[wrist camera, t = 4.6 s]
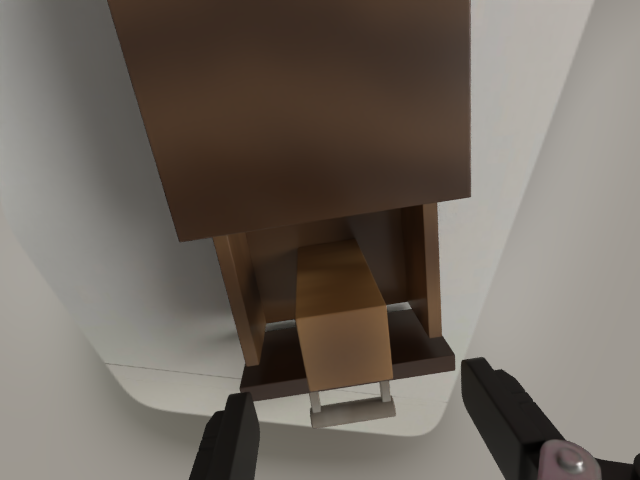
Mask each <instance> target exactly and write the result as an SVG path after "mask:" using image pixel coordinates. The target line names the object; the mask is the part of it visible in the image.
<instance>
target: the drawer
mask: <svg viewBox="0 0 640 480" xmlns="http://www.w3.org/2000/svg"><path fill="white" fill-rule="evenodd" d="M212 238H213V242H214V246H215V249H216V253H217V257H218V261H219V265H220V268H221V272H222V276H223V280H224V283H225V287H226V291H227V295H228V299H229V302H230V306H231V310H232V314H233V317H234V321H235V325H236V329H237V333H238V336H239V340H240V344H241V348H242V351H243V355H244V359H245V367H244V371H243V376H242V380H241V384H240V392H241V393H243V392H250V393H251V396H252V399H253V402H254V401H261V400H267V399H274V398H280V397H287V396H293V395H299V394H306V393H309V396H310V401H311V406H312V407H311V408H310V417H311V424H312V428H313V429H316V428H323V427H329V426H336V425H342V424H348V423H355V422H361V421H368V420H374V419H381V418H387V417H394V416H396V411H395V405H394V401H393V398H392V396H391V395H390V387H389V381H390V380H396V379H402V378H409V377H415V376H422V375H428V374H435V373H441V372H448V371H454V370H455V354H454V353H453V351H452V350H451V348H450V347H449V345H448V343H447V342H446V340H445V339H444V337H443V336H442V327H441V298H440V270H439V241H438V213H437V202H436V203H430V204H424V205H417V206H411V207H404V208H398V209H391V210H385V211H378V212H372V213H366V214H359V215H353V216H346V217H340V218H333V219H327V220H321V221H314V222H308V223H301V224H295V225H288V226H282V227H276V228H269V229H263V230H256V231H250V232H243V233H237V234H231V235H224V236H218V237H212ZM350 239H356V240H357V243H358V245H359V247H360V249H361V251H362V254H363V256H364V258H365V260H366V262H367V265H368V267H369V269H370V271H371V273H372V275H373V278H374V280H375V282H376V284H377V286H378V289H379V291H380V293H381V295H382V297H383V300H384V302H385V304H386V305H389V304H395V303H402V302H408V303H409V305H410V306H411V308H412V309H408V310H402V311H395V312H389V313H387V318H388V328H389V339H390V349H391V360H392V371H393V379H389V380H383V381H376V382H370V383H377V382H379V383H380V392H381V397H374V398H368V399H362V400H355V401H349V402H342V403H336V404H329V405H323V406H321V405H320V399H319V394H318V392H319V391H325V390H332V389H338V388H344V387H351V386H357V385H364V384H370V383H363V384H357V385H351V386H344V387H338V388H331V389H325V390H318V391H312V392H310V391H309V387H308V382H307V377H306V372H305V367H304V362H303V357H302V352H301V347H300V342H299V337H298V332H297V327H292V328H286V329H279V330H273V331H267V332H265V328H266V324H267V323H273V322H279V321H286V320H292V319H295V312H296V280H297V249H298V247H305V246H311V245H318V244H324V243H331V242H337V241H343V240H350Z"/></svg>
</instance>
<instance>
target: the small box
mask: <svg viewBox="0 0 640 480" xmlns="http://www.w3.org/2000/svg"><path fill="white" fill-rule="evenodd" d="M295 321H296V326H297V332H298V337H299V342H300V347H301V352H302V357H303V362H304V367H305V372H306V377H307V382H308V387H309V391H310V392H312V391H318V390H325V389H331V388H338V387H344V386H351V385H357V384H363V383H370V382H376V381H383V380H389V379H393V371H392V360H391V349H390V339H389V328H388V318H387V307H386V304H385V302H384V300H383V297H382V295H381V293H380V291H379V289H378V286H377V284H376V282H375V280H374V278H373V275H372V273H371V271H370V269H369V267H368V265H367V262H366V260H365V258H364V256H363V254H362V251H361V249H360V247H359V245H358V243H357V240H356V239H350V240H343V241H337V242H331V243H324V244H318V245H311V246H305V247H298V249H297V280H296V312H295Z"/></svg>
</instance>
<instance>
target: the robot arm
mask: <svg viewBox="0 0 640 480" xmlns="http://www.w3.org/2000/svg"><path fill="white" fill-rule="evenodd" d="M461 384H462V385H461V386H462V387H461V388H462V397H463V402H464V405H465V407H466V409H467V411H468V413H469V415H470V417H471V418H472V420H473V422H474V424H475V426H476V427H477V429H478V431H479V433H480V435H481V436H482V438H483V440H484V442H485V443H486V445H487V447H488V449H489V451H490V453H491V454H492V456H493V458H494V460H495V461H496V463H497V465H498V467H499V468H500V470H501V472H502V474H503V476H504V478H505V479H506V480H640V454H638V455H637V456H636V457H635V458H634V463H633V464H627V463H620V462H613V461H607V460H601V459H597V458H594V457H593V456H592V455H591V454H590V453H589V452H588V451H587V450H585V449H584V448H582V447H581V446H579V445H577V444H575V443H572V442H570V441H566V440H565V439H564V437H563V436H562V435H561V434H560V432H559V431H558V430H557V429H556V428H555V426H554V425H553V424H552V423H551V421H550V420H549V419H548V418H547V417H546V415H545V414H544V413H543V412H542V411H541V409H540V408H539V407H538V405H537V404H536V403H535V402H533V399H532V398H531V397H530V396H529V394H528V393H527V392H525V390H524V389H523V387H522V386H521V385H520V383H519V382H518V381H517V380H516V379H515V378H514V377H513V376H511V375H509V374H508V373H506V372H505V371H503V370H502V369H501V370H493V369H492V367H491V366H490V365H489V363H488V362H487V361H486V359H485V358H483V357H479V358H473V359H466V360H462V362H461ZM259 441H260V428H259V422H258V418H257V414H256V410H255V407H254V403H253V399H252V396H251V393H250V392H243V393H236V394H230V395H229V396H228V399H227V403H226V407H225V410H223V411H217V412H215V413H214V415H213V416H212V418H211V419H210V420H209V422H208V423H207V424H206V427H205V431H204V434H203V437H202V441H201V443H200V446H199V451H198V453H197V456H196V459H195V462H194V465H193V468H192V471H191V474H190V477H189V480H254V477H255V469H256V462H257V455H258V447H259Z"/></svg>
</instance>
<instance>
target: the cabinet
mask: <svg viewBox="0 0 640 480" xmlns="http://www.w3.org/2000/svg"><path fill="white" fill-rule="evenodd" d="M107 2H108V5H109V9H110V12H111V15H112V19H113V22H114V25H115V29H116V32H117V35H118V39H119V42H120V45H121V49H122V52H123V55H124V59H125V62H126V66H127V69H128V72H129V76H130V79H131V82H132V86H133V89H134V92H135V96H136V99H137V102H138V106H139V109H140V112H141V116H142V119H143V122H144V126H145V129H146V132H147V136H148V139H149V142H150V146H151V149H152V152H153V156H154V159H155V162H156V166H157V169H158V172H159V176H160V179H161V182H162V186H163V189H164V192H165V196H166V199H167V202H168V206H169V209H170V212H171V216H172V219H173V222H174V226H175V229H176V232H177V236H178V239H179V242H186V241H192V240H198V239H205V238H211V237H218V236H224V235H231V234H237V233H243V232H250V231H256V230H263V229H269V228H276V227H282V226H288V225H295V224H301V223H308V222H314V221H321V220H327V219H333V218H340V217H346V216H353V215H359V214H366V213H372V212H378V211H385V210H391V209H398V208H404V207H411V206H417V205H424V204H430V203H436V202H443V201H449V200H456V199H462V198H469V197H471V0H107Z"/></svg>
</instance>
